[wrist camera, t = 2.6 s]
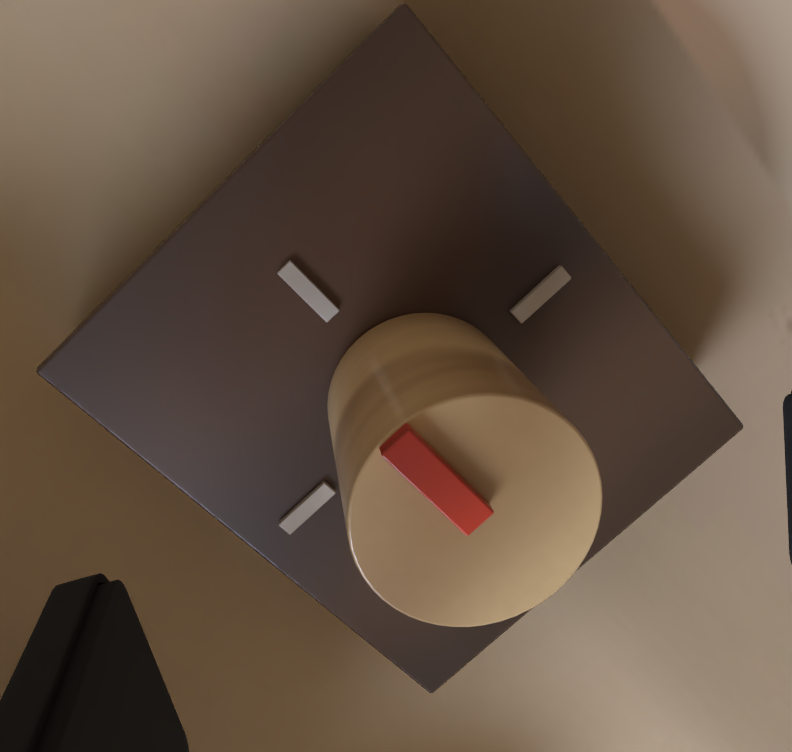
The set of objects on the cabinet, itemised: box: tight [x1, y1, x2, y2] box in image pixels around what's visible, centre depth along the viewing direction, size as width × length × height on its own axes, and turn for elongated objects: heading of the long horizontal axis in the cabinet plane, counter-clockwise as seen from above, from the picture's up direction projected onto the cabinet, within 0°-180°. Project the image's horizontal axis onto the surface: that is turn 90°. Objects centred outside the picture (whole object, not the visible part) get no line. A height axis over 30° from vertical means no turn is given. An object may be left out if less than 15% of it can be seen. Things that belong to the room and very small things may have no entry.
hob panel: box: [36, 4, 743, 693], centre depth 18 cm, size 12×10×3 cm
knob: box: [327, 313, 602, 627], centre depth 14 cm, size 4×4×5 cm
